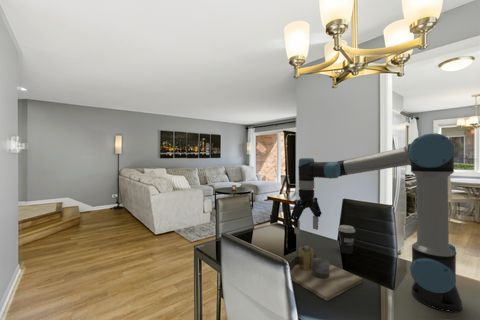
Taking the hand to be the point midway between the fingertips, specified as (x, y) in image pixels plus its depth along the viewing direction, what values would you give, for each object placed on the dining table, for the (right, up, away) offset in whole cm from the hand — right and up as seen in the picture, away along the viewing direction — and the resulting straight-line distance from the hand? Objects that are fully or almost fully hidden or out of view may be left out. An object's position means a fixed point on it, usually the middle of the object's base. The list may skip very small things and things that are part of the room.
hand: (306, 231), depth 115 cm
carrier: (+4, -20, -7) cm, 21 cm away
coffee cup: (+31, -20, +23) cm, 43 cm away
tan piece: (0, -18, 0) cm, 18 cm away
